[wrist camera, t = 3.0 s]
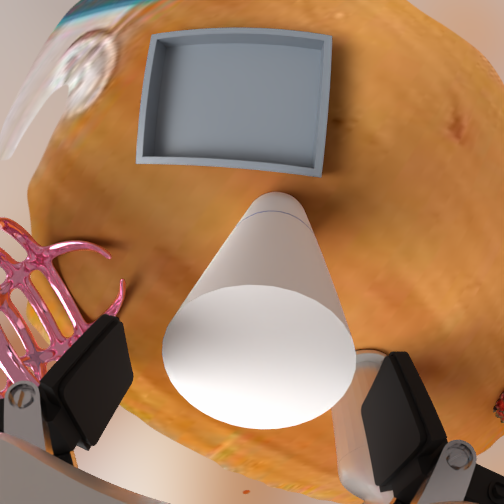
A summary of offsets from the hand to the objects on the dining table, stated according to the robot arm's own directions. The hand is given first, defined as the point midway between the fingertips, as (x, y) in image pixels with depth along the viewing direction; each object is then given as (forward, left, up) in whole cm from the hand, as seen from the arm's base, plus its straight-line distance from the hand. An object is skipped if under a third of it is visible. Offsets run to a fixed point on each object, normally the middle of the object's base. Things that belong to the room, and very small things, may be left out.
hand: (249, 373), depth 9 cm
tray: (+6, -14, -25) cm, 29 cm away
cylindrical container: (0, 0, -26) cm, 26 cm away
